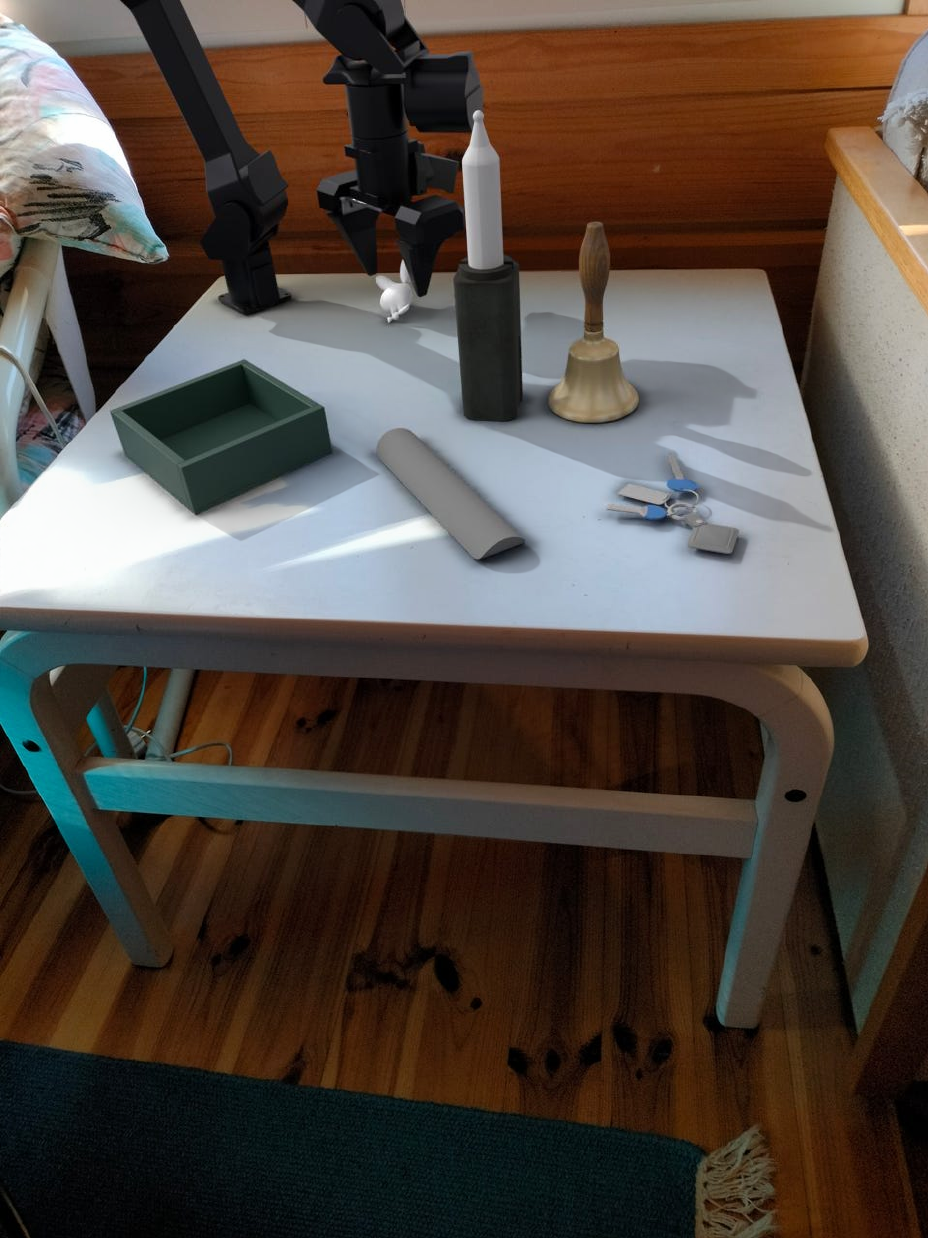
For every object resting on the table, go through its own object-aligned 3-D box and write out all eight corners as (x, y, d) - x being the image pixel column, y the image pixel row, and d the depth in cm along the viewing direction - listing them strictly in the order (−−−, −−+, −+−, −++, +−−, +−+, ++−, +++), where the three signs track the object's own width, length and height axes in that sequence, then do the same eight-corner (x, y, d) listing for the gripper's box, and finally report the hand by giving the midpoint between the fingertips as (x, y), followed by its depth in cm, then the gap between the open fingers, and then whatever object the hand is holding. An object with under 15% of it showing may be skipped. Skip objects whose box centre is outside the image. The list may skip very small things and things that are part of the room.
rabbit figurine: (367, 324, 105) (366, 268, 108) (391, 342, 108) (390, 286, 111) (407, 299, 102) (405, 241, 105) (431, 317, 105) (429, 261, 108)
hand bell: (533, 414, 88) (529, 236, 77) (569, 374, 93) (570, 203, 83) (619, 430, 84) (627, 247, 74) (651, 389, 90) (663, 212, 80)
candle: (516, 421, 87) (505, 118, 71) (461, 419, 88) (438, 119, 72) (524, 394, 91) (516, 101, 74) (471, 393, 92) (452, 102, 75)
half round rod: (481, 567, 71) (479, 548, 70) (373, 453, 84) (370, 435, 83) (530, 548, 72) (530, 529, 71) (416, 439, 86) (414, 421, 84)
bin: (124, 455, 87) (109, 410, 84) (254, 402, 93) (244, 358, 90) (195, 515, 79) (181, 467, 76) (332, 452, 85) (324, 406, 82)
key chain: (753, 552, 70) (754, 543, 69) (647, 576, 69) (648, 566, 68) (672, 458, 80) (673, 449, 80) (579, 477, 79) (579, 468, 78)
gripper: (501, 128, 94) (507, 284, 104) (388, 101, 106) (403, 245, 116) (411, 154, 89) (427, 316, 99) (303, 124, 101) (327, 272, 111)
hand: (396, 284), depth 106 cm, fingers open, 9 cm apart
